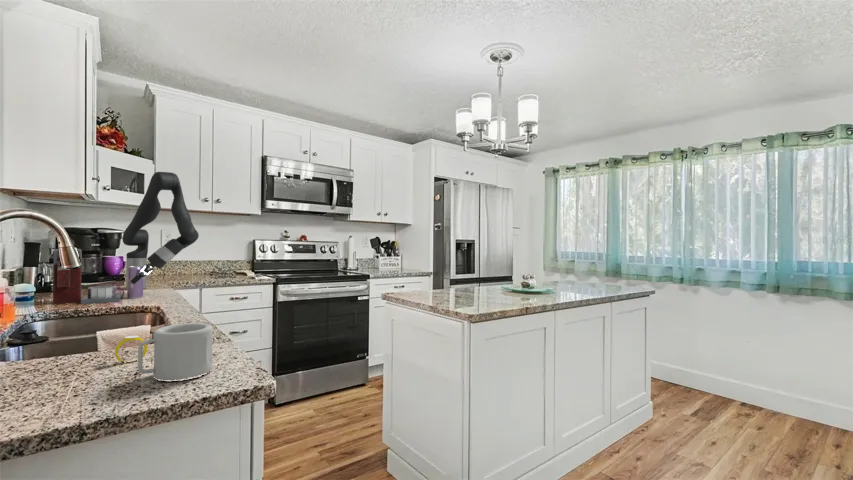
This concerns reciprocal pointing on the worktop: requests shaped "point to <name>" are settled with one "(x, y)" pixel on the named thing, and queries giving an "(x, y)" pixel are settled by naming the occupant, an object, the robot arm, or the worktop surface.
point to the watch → (129, 338)
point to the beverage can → (135, 289)
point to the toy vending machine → (66, 282)
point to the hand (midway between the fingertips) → (132, 281)
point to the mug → (180, 351)
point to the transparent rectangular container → (101, 295)
